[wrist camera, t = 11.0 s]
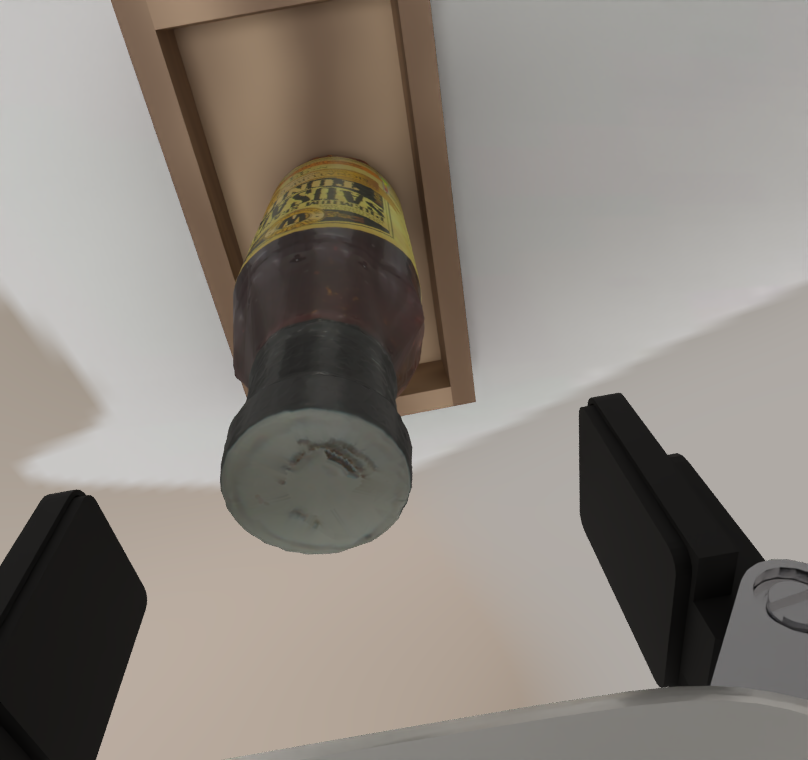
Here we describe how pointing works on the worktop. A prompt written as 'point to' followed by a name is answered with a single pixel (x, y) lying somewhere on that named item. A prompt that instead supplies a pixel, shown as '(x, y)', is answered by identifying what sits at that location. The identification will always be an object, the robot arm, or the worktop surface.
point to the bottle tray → (305, 136)
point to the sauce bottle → (324, 362)
